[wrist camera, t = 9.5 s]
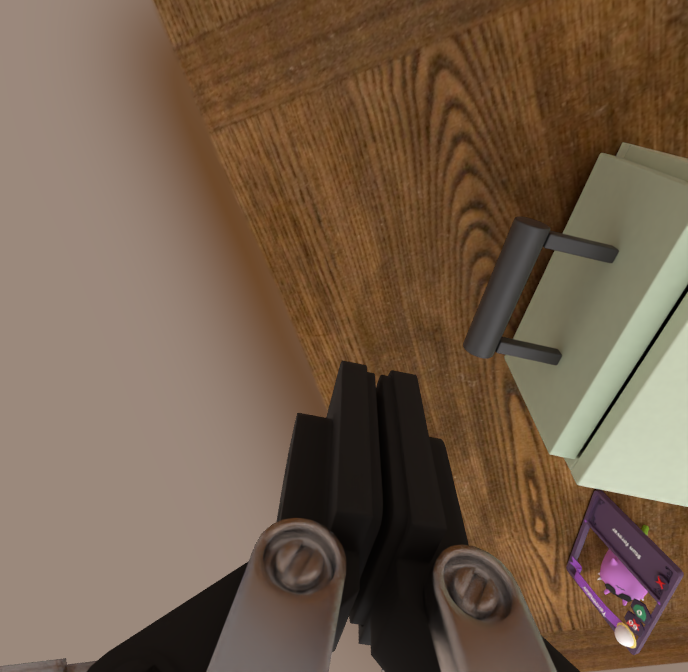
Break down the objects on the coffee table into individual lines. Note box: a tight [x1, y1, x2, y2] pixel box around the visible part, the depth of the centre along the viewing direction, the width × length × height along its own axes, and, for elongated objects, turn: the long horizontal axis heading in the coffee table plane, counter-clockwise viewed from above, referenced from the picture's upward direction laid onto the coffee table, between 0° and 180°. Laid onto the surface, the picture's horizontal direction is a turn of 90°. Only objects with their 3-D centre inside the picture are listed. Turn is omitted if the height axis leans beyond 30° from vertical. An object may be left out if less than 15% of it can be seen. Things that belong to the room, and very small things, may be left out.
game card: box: [566, 489, 683, 655], centre depth 33 cm, size 7×5×9 cm
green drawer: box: [463, 153, 688, 459], centre depth 21 cm, size 19×11×8 cm, turn 78°
